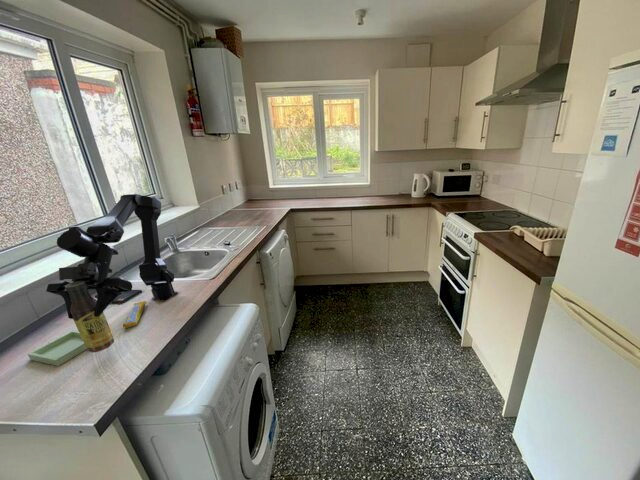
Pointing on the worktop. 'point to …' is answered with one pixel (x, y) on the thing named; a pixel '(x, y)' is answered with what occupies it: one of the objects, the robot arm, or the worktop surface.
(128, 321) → the candy bar
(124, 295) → the calculator
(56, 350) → the tray
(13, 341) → the worktop surface
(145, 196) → the robot arm
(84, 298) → the sauce bottle
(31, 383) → the worktop surface
